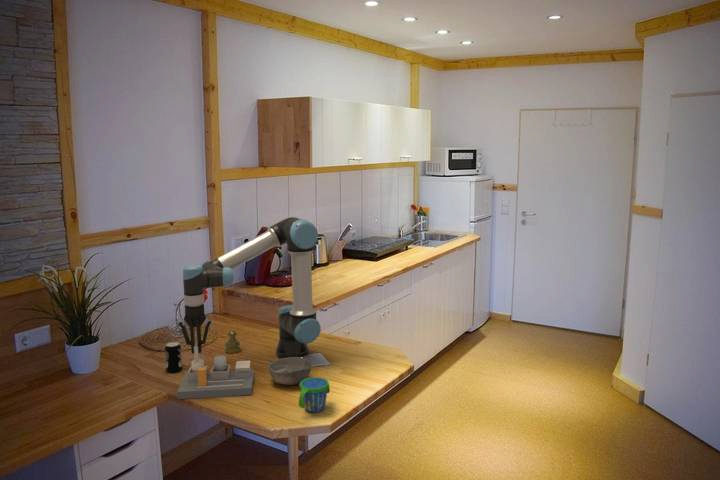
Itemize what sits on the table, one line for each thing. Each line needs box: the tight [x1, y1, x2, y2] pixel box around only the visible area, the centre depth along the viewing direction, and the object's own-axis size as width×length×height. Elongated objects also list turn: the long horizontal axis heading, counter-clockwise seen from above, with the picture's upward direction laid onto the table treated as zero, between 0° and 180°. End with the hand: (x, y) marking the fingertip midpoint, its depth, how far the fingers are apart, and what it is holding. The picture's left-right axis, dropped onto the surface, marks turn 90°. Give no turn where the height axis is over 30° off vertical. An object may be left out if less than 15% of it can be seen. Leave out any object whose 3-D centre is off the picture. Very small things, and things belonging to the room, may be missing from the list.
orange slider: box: [198, 367, 207, 387], centre depth 224 cm, size 3×3×7 cm
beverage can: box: [164, 341, 183, 374], centre depth 248 cm, size 7×7×12 cm
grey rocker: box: [235, 360, 251, 372], centre depth 234 cm, size 6×5×2 cm
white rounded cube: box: [191, 358, 205, 373], centre depth 232 cm, size 5×5×5 cm
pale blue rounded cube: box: [213, 354, 228, 371], centre depth 233 cm, size 5×5×5 cm
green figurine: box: [224, 329, 242, 354], centre depth 271 cm, size 7×7×10 cm
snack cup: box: [298, 376, 331, 413], centre depth 210 cm, size 16×10×10 cm
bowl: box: [267, 357, 312, 386], centre depth 235 cm, size 18×18×8 cm
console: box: [176, 364, 255, 400], centre depth 230 cm, size 28×18×6 cm, turn 97°
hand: (197, 360), depth 232 cm, fingers closed
